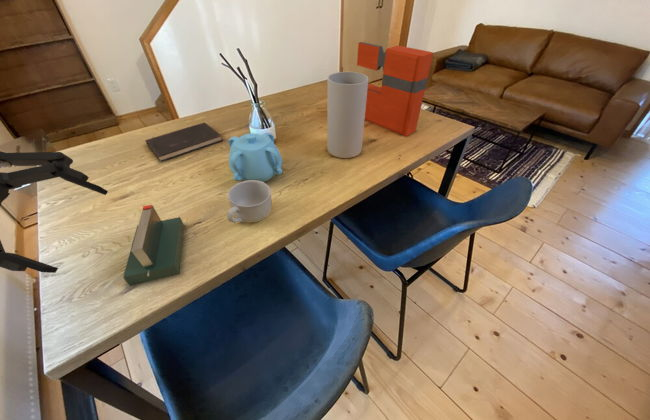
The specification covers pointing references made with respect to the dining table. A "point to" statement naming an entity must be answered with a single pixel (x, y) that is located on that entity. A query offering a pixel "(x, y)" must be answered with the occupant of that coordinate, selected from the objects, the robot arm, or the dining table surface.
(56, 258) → the dining table surface
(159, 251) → the green block
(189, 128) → the hardcover book
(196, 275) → the dining table surface
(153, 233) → the red-tipped metal bar
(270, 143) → the decorative pot
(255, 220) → the teacup
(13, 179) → the robot arm
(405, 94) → the clamp
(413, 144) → the dining table surface
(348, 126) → the cylinder vase
